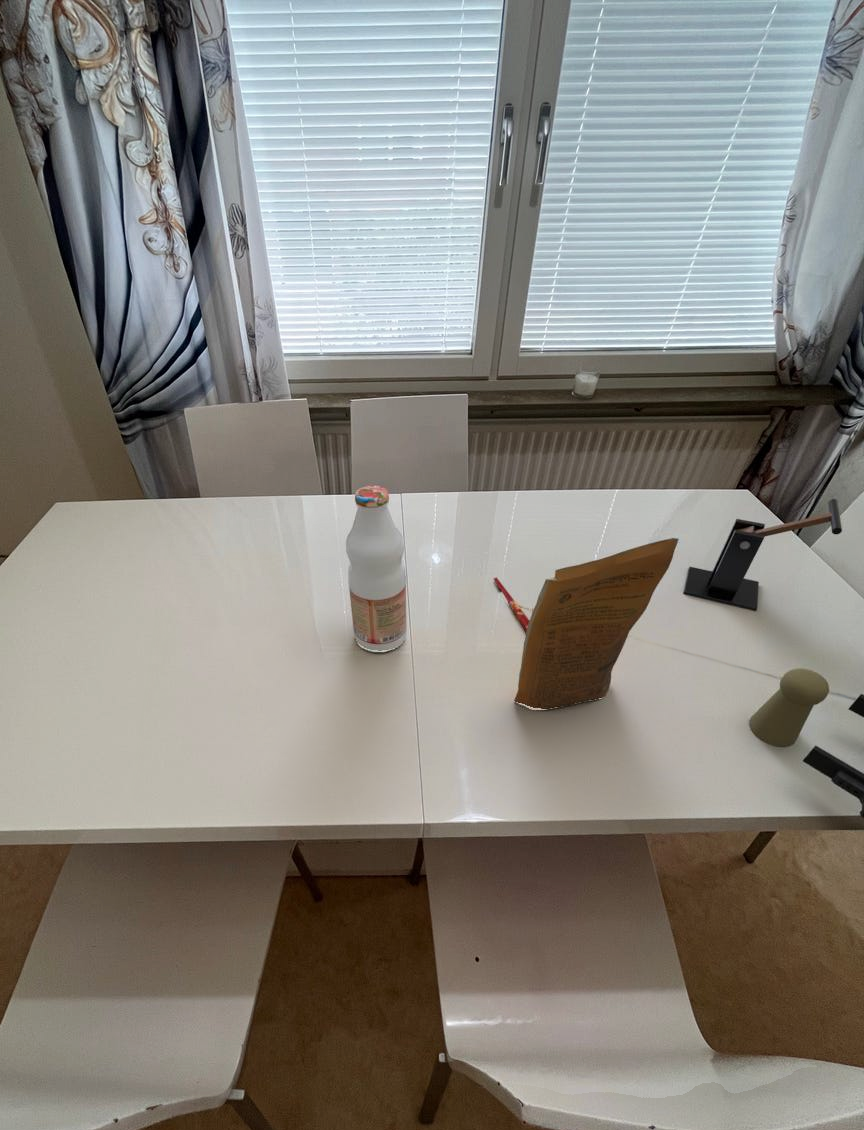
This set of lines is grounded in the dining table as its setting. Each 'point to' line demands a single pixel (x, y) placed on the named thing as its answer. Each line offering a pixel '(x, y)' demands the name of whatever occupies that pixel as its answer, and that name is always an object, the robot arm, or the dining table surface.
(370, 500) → the fruit juice
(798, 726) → the cork
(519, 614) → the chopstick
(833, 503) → the wood and metal hammer
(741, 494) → the dining table surface
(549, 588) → the pancake mix bag
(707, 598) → the black lever stand
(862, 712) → the robot arm
